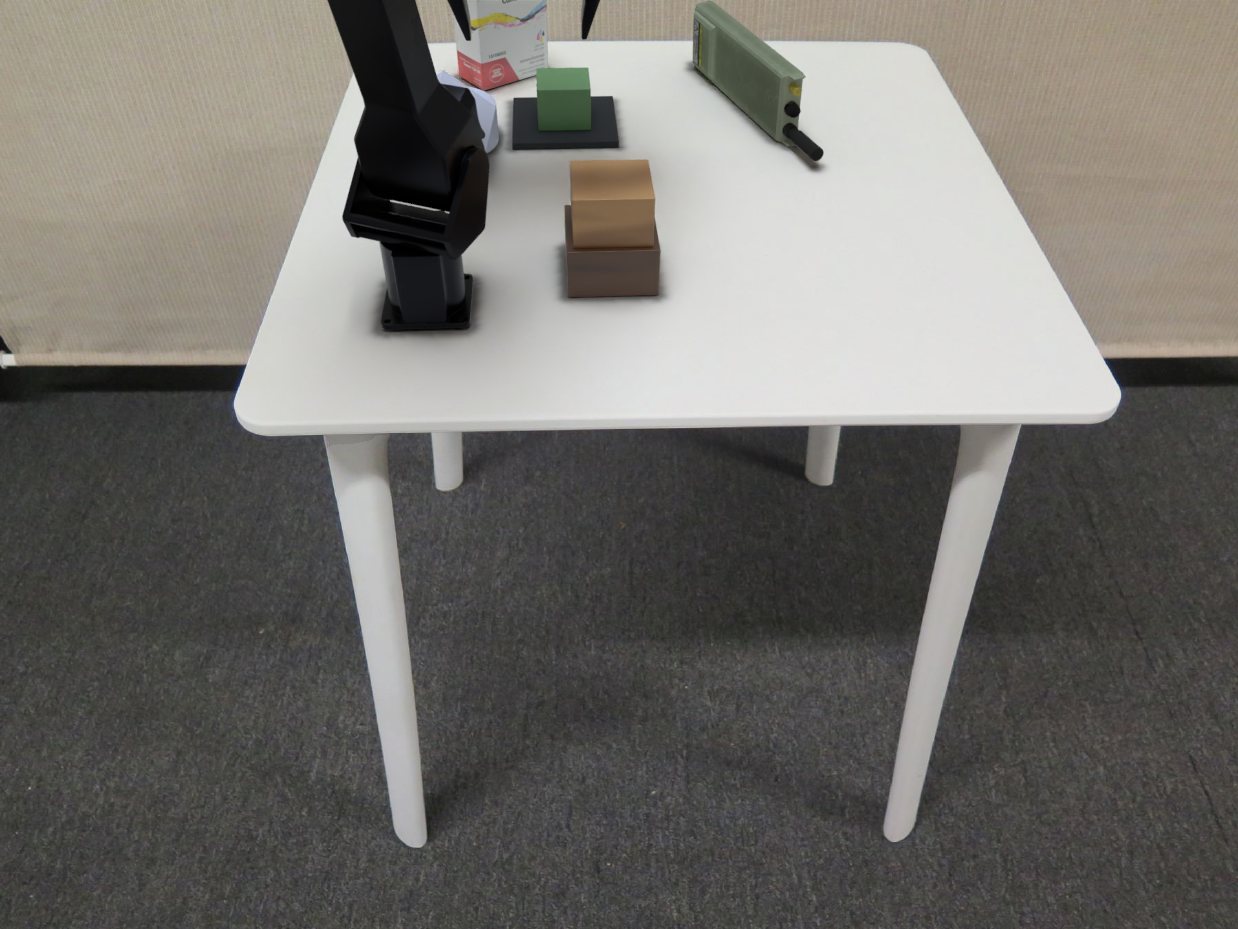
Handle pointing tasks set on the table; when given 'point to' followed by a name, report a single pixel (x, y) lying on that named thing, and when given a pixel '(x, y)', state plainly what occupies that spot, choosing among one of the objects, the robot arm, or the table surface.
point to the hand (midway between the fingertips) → (526, 38)
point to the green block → (563, 99)
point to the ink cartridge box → (503, 41)
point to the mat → (532, 138)
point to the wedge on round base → (479, 110)
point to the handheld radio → (751, 75)
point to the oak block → (612, 203)
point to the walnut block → (611, 268)
